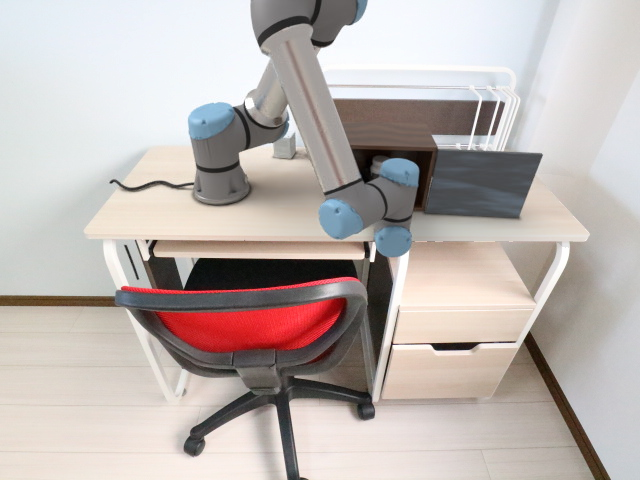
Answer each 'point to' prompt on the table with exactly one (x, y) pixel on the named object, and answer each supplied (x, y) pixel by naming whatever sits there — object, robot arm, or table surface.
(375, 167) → the pill bottle
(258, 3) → the robot arm
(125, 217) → the table surface
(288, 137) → the product box
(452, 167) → the cabinet door
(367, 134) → the cabinet
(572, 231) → the table surface
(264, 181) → the table surface
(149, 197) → the table surface
